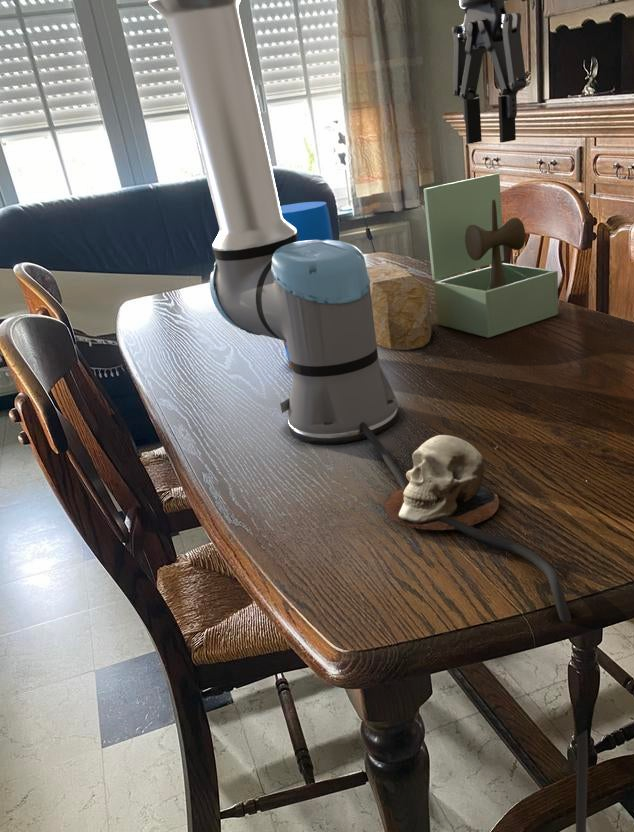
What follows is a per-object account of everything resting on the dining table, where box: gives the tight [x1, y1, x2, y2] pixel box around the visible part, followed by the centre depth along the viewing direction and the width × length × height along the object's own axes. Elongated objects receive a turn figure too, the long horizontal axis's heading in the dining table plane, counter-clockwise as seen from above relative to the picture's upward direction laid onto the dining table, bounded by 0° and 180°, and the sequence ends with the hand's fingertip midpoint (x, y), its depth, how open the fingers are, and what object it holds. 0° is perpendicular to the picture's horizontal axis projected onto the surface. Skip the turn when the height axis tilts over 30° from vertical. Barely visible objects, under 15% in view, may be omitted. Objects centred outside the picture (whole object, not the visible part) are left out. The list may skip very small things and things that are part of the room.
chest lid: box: [423, 172, 505, 281], centre depth 138 cm, size 15×17×6 cm
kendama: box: [465, 200, 526, 291], centre depth 132 cm, size 6×10×20 cm, turn 113°
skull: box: [384, 434, 500, 531], centre depth 79 cm, size 12×10×10 cm
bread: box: [366, 262, 433, 351], centre depth 142 cm, size 36×11×10 cm, turn 16°
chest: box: [433, 262, 559, 339], centre depth 136 cm, size 15×17×8 cm
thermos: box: [280, 201, 334, 370], centre depth 123 cm, size 11×11×25 cm
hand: (490, 141), depth 123 cm, fingers open, 8 cm apart
